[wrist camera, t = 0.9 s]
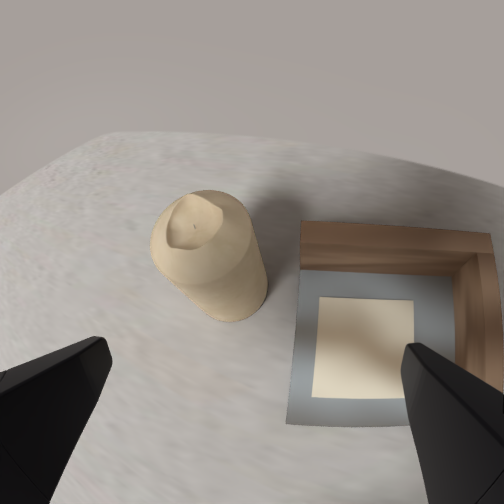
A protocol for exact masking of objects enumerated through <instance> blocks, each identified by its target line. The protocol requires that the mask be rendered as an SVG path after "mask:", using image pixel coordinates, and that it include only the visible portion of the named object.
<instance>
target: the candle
mask: <svg viewBox="0 0 504 504" xmlns="http://www.w3.org/2000/svg"><path fill="white" fill-rule="evenodd" d="M150 250H151V256H152V259H153V261H154V263H155V265H156V267H157V268H158V270H159V271H160V272H161V273H162V274H163V275H164V276H165V277H166V278H167V279H168V280H169V281H170V282H172V283H173V284H174V285H175V286H176V287H177V288H178V289H179V290H180V291H181V292H182V293H184V294H185V295H186V296H187V297H188V298H189V299H190V300H191V301H192V302H194V303H195V304H196V305H197V306H198V307H199V308H200V309H201V310H203V311H204V312H205V313H206V314H208V315H209V316H210V317H212V318H214V319H217V320H220V321H225V322H235V321H240V320H243V319H245V318H247V317H249V316H251V315H252V314H254V313H255V312H256V311H257V310H258V309H259V308H260V306H261V305H262V303H263V301H264V299H265V297H266V293H267V287H268V281H267V275H266V271H265V267H264V264H263V260H262V257H261V253H260V250H259V246H258V243H257V239H256V236H255V232H254V229H253V225H252V222H251V219H250V216H249V213H248V212H247V210H246V208H245V207H244V206H243V204H242V203H241V202H240V201H239V200H237V199H236V198H234V197H233V196H231V195H229V194H227V193H224V192H220V191H214V190H203V191H197V192H193V193H190V194H187V195H185V196H183V197H181V198H179V199H177V200H176V201H174V202H173V203H172V204H170V205H169V206H168V207H167V208H166V209H165V210H164V211H163V213H162V214H161V215H160V216H159V218H158V220H157V221H156V223H155V225H154V228H153V231H152V234H151V240H150Z"/></svg>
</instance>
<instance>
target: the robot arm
mask: <svg viewBox="0 0 504 504" xmlns="http://www.w3.org/2000/svg"><path fill="white" fill-rule="evenodd" d="M111 367H112V356H111V353H110V350H109V347H108V344H107V341H106V339H105V338H103V337H97V336H92V337H90V338H87V339H85V340H82V341H80V342H77V343H75V344H72V345H70V346H67V347H65V348H62V349H59V350H57V351H54V352H52V353H49V354H47V355H44V356H42V357H39V358H37V359H34V360H31V361H29V362H26V363H24V364H21V365H18V366H16V367H13V368H11V369H8V370H7V371H6V370H5V371H3V372H0V504H49V503H50V501H51V498H52V496H53V494H54V491H55V489H56V487H57V485H58V482H59V480H60V478H61V476H62V474H63V471H64V469H65V467H66V465H67V463H68V461H69V459H70V456H71V454H72V452H73V450H74V448H75V446H76V444H77V442H78V440H79V438H80V436H81V434H82V432H83V430H84V428H85V426H86V424H87V422H88V420H89V418H90V416H91V414H92V412H93V410H94V408H95V406H96V404H97V402H98V399H99V397H100V394H101V392H102V389H103V387H104V384H105V382H106V379H107V377H108V374H109V372H110V369H111ZM400 372H401V379H402V385H403V391H404V397H405V403H406V409H407V415H408V420H409V424H410V427H411V431H412V435H413V439H414V442H415V446H416V450H417V454H418V458H419V462H420V466H421V471H422V475H423V479H424V484H425V489H426V493H427V498H428V503H429V504H504V395H503V393H502V392H501V391H499V390H497V389H496V388H494V387H493V386H491V385H489V384H488V383H486V382H484V381H483V380H481V379H480V378H478V377H476V376H475V375H473V374H471V373H470V372H468V371H466V370H465V369H463V368H462V367H460V366H458V365H457V364H455V363H453V362H452V361H450V360H448V359H447V358H445V357H444V356H442V355H440V354H439V353H437V352H435V351H434V350H432V349H430V348H429V347H427V346H425V345H424V344H422V343H420V342H416V343H408V344H407V345H406V346H405V349H404V354H403V359H402V364H401V369H400Z"/></svg>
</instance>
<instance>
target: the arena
mask: <svg viewBox="0 0 504 504" xmlns="http://www.w3.org/2000/svg"><path fill="white" fill-rule="evenodd" d="M416 342H420V343H422V344H424V345H425V346H427V347H429V348H430V349H432V350H434V351H435V352H437V353H439V354H440V355H442V356H444V357H445V358H447V359H448V360H450V361H452V362H453V363H455V364H457V365H458V366H460V367H462V368H463V369H465V370H466V371H468V372H470V373H471V374H473V375H475V376H476V377H478V378H480V379H481V380H483V381H484V382H486V383H488V384H489V385H491V386H493V387H494V388H496V389H497V390H499V391H501V392H502V393H503V374H504V351H503V326H502V312H501V301H500V292H499V284H498V276H497V270H496V263H495V257H494V252H493V246H492V241H491V236H490V234H489V233H478V232H467V231H456V230H444V229H431V228H418V227H404V226H390V225H374V224H358V223H340V222H320V221H301V234H300V281H299V295H298V307H297V319H296V331H295V342H294V352H293V362H292V372H291V382H290V391H289V399H288V408H287V416H286V424H292V425H307V426H327V427H389V426H408V425H410V424H409V420H408V415H407V409H406V403H405V397H404V391H403V385H402V379H401V372H400V369H401V364H402V359H403V354H404V349H405V346H406V345H407V344H408V343H416Z"/></svg>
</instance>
